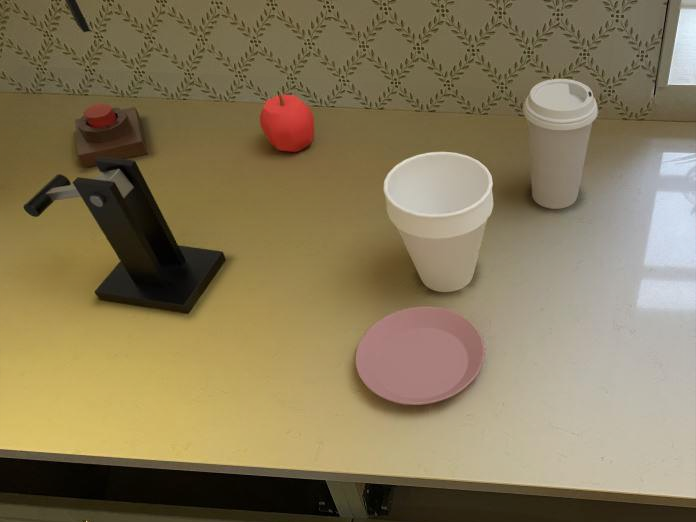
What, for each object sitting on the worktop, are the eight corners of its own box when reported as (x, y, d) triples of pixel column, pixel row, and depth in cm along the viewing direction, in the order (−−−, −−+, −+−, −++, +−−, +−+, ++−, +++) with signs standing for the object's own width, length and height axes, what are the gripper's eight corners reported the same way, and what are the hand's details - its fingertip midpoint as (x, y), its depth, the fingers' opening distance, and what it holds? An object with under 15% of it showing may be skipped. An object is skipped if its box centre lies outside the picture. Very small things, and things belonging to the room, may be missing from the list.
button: (88, 118, 100) (82, 107, 98) (116, 112, 101) (110, 101, 99) (89, 130, 98) (83, 120, 96) (118, 124, 99) (112, 114, 97)
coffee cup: (576, 222, 89) (586, 120, 77) (511, 206, 91) (512, 105, 80) (596, 183, 95) (608, 83, 83) (535, 169, 97) (538, 70, 85)
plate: (382, 433, 68) (379, 422, 66) (343, 341, 76) (339, 329, 74) (505, 386, 71) (505, 375, 70) (456, 303, 80) (455, 291, 78)
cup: (477, 316, 78) (472, 225, 67) (383, 296, 80) (364, 204, 70) (506, 252, 85) (506, 160, 75) (419, 235, 88) (407, 143, 77)
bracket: (99, 300, 80) (24, 192, 68) (143, 247, 86) (81, 139, 74) (188, 313, 79) (128, 205, 66) (226, 259, 85) (178, 151, 72)
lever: (34, 220, 74) (17, 202, 72) (66, 189, 78) (50, 172, 76) (113, 209, 70) (97, 190, 68) (143, 177, 74) (129, 158, 72)
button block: (81, 132, 104) (68, 108, 101) (141, 119, 106) (129, 95, 103) (85, 168, 98) (71, 144, 95) (147, 154, 100) (136, 130, 97)
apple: (299, 164, 98) (285, 114, 92) (257, 151, 100) (240, 102, 94) (329, 137, 103) (318, 88, 96) (288, 126, 105) (274, 77, 98)
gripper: (-263, -154, 55) (-85, 88, 72) (45, -197, 65) (139, 25, 82) (-268, -171, 59) (-97, 63, 76) (25, -210, 69) (119, 5, 85)
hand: (26, 44), depth 79 cm, fingers open, 13 cm apart
